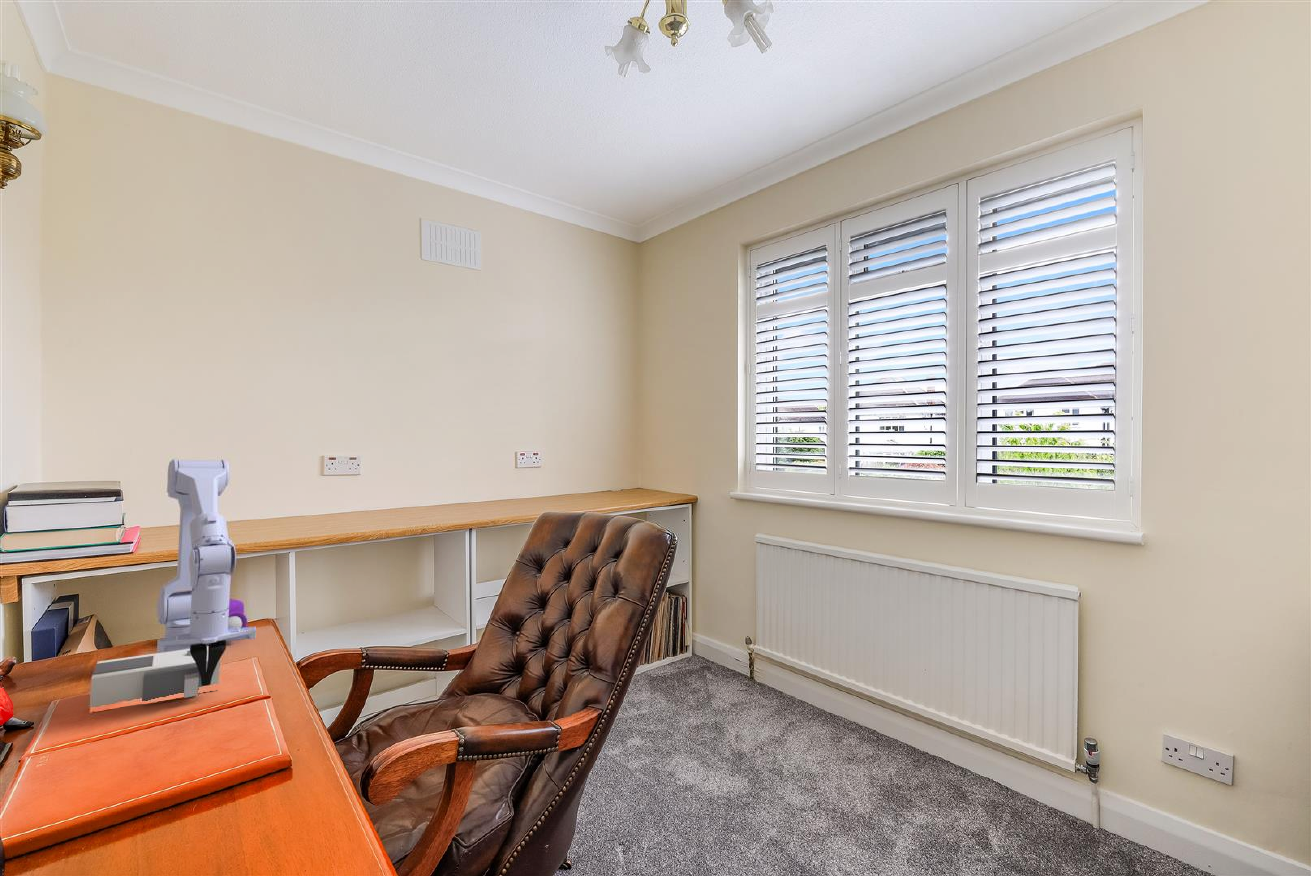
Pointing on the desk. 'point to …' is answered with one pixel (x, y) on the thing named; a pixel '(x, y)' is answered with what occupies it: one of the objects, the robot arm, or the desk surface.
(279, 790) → the desk surface
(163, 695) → the side door
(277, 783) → the desk surface
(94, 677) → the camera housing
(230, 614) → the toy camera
